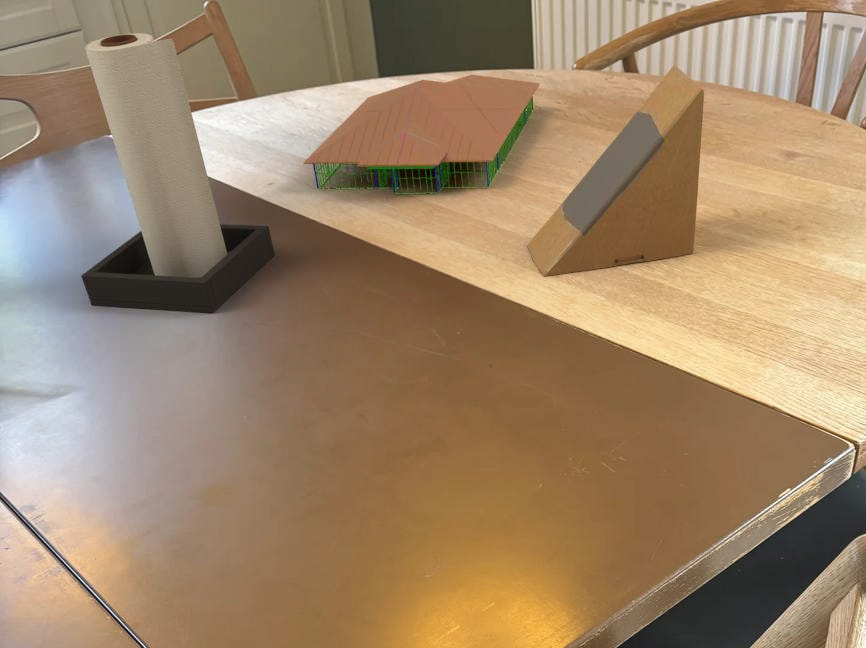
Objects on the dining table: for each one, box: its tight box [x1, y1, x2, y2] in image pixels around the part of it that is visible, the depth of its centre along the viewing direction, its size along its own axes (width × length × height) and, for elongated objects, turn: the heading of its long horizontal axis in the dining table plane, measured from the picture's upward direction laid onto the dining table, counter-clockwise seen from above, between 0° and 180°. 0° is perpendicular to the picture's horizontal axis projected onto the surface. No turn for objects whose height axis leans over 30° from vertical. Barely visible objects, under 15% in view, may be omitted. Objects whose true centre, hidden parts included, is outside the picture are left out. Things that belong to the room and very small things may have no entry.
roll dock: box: [80, 223, 276, 314], centre depth 104 cm, size 14×14×3 cm
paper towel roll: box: [84, 32, 227, 278], centre depth 98 cm, size 7×6×21 cm
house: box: [303, 74, 540, 195], centre depth 127 cm, size 23×33×8 cm
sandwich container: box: [526, 64, 705, 277], centre depth 97 cm, size 9×15×15 cm, turn 100°
